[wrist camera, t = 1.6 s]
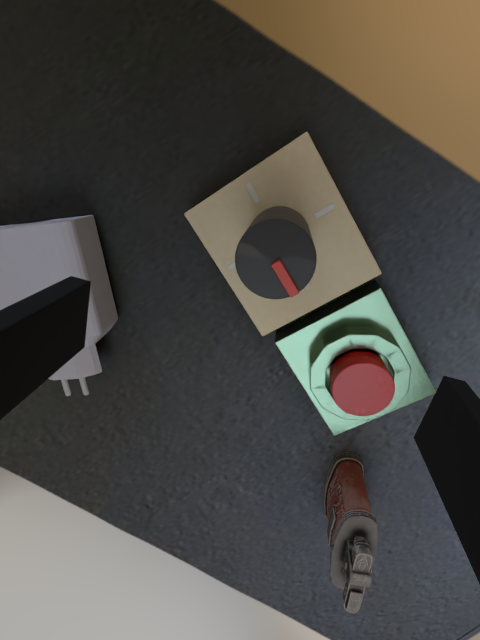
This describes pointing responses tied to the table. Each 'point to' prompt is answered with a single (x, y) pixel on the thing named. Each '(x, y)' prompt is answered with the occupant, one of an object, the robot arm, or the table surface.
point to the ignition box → (347, 336)
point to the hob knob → (276, 254)
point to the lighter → (350, 529)
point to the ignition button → (361, 383)
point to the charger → (60, 278)
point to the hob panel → (320, 214)
